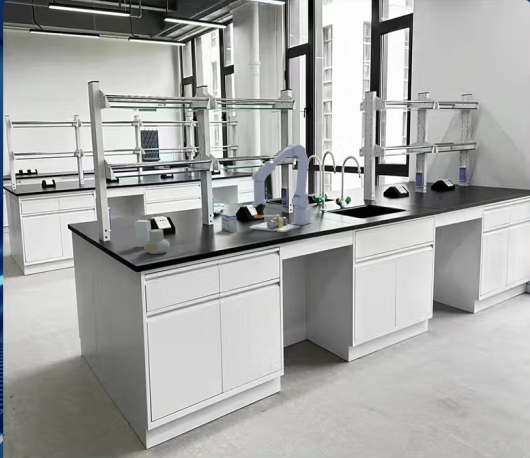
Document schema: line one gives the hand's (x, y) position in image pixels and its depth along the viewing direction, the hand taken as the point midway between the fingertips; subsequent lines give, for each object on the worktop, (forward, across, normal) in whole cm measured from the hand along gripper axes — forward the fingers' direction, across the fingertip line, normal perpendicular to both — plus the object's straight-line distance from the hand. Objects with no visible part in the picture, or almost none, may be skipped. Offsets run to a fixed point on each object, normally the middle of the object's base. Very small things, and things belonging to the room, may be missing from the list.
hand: (259, 218), depth 262 cm
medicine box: (+5, +13, -12) cm, 19 cm away
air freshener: (+5, +66, -21) cm, 69 cm away
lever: (-1, +1, +4) cm, 5 cm away
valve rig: (+5, -1, +8) cm, 10 cm away
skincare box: (+5, +57, -34) cm, 67 cm away
